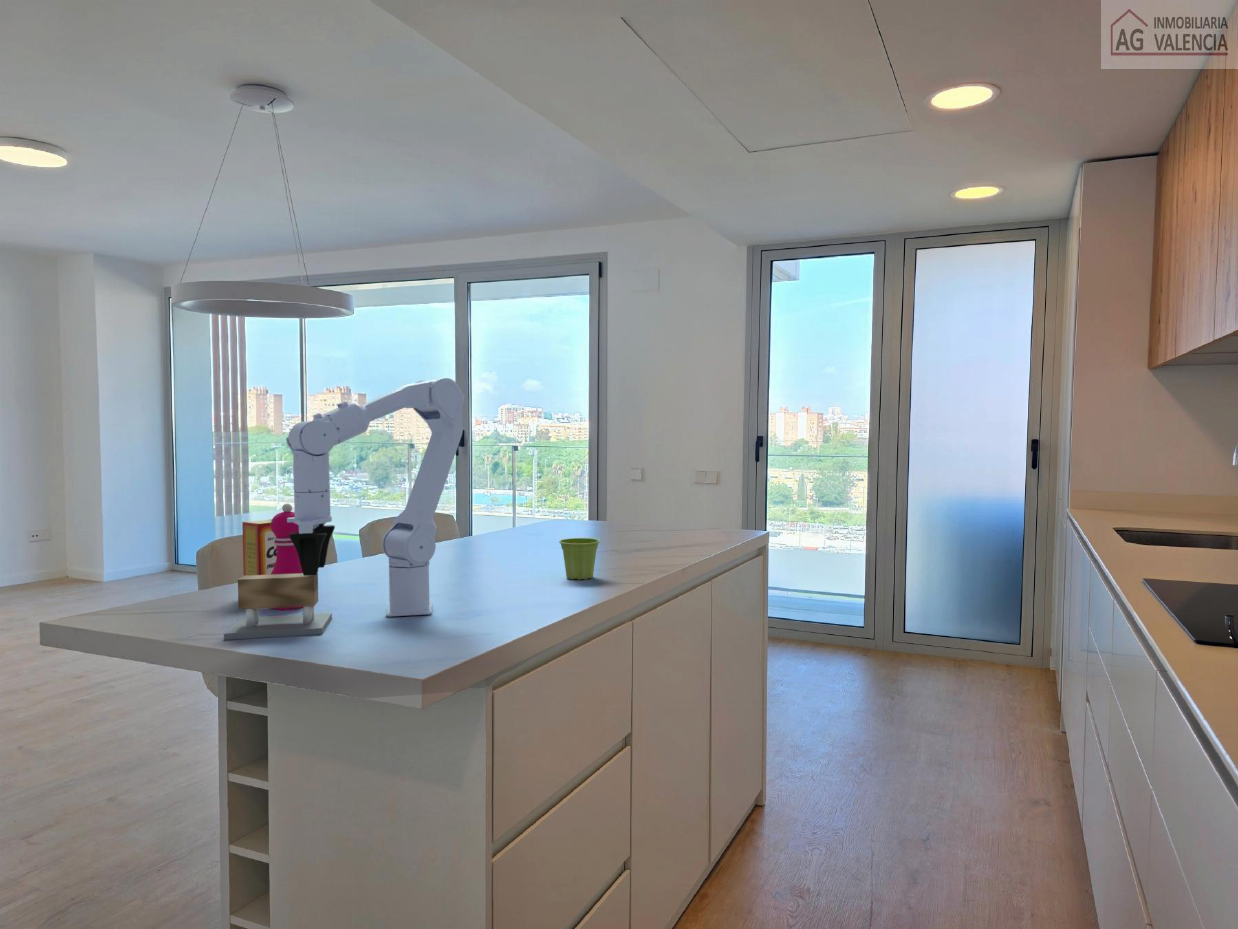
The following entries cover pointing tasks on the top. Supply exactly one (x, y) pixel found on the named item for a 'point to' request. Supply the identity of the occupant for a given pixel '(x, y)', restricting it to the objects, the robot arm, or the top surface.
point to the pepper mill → (285, 546)
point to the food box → (258, 548)
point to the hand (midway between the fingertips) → (314, 571)
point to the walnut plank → (277, 591)
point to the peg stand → (278, 625)
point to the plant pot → (579, 557)
